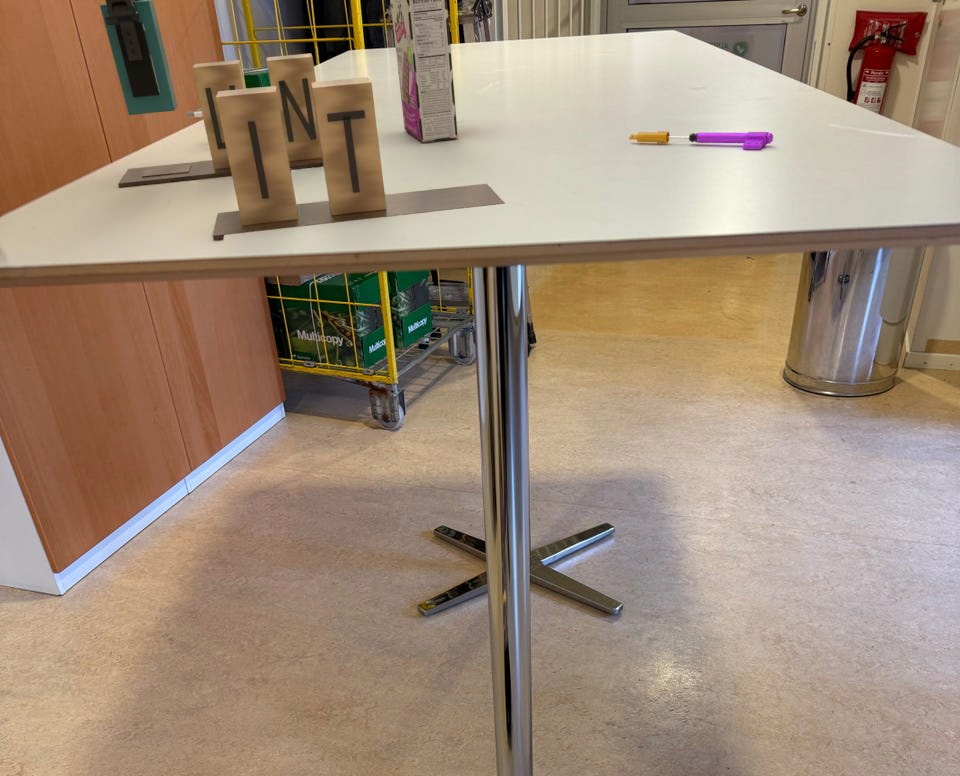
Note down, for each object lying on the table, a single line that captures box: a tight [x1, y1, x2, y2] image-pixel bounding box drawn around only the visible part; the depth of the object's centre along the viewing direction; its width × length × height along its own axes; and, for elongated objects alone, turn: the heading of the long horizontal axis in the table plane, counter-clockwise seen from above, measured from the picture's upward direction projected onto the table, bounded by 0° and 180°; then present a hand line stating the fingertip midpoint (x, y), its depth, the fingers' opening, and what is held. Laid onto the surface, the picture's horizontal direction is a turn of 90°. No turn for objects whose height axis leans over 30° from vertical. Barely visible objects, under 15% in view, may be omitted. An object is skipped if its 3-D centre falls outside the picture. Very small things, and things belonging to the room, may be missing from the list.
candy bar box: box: [389, 0, 459, 143], centre depth 112 cm, size 11×5×16 cm, turn 15°
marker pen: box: [628, 130, 774, 151], centre depth 99 cm, size 3×1×16 cm
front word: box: [212, 76, 506, 241], centre depth 82 cm, size 26×9×10 cm, turn 100°
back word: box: [117, 53, 323, 188], centre depth 104 cm, size 26×9×10 cm, turn 100°
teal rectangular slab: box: [99, 0, 178, 116], centre depth 99 cm, size 5×4×10 cm
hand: (148, 92), depth 101 cm, fingers closed on teal rectangular slab, 4 cm apart
